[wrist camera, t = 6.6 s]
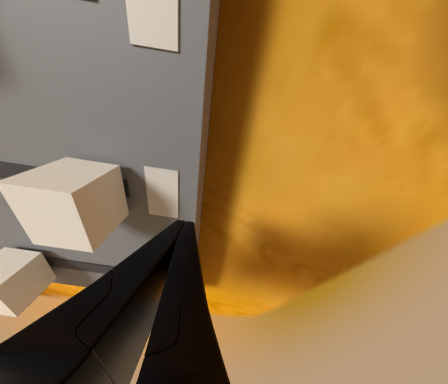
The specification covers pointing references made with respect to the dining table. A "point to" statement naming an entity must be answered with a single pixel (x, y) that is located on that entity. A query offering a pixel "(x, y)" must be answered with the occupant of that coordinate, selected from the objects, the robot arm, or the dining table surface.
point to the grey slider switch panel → (109, 110)
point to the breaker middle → (68, 202)
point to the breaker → (22, 279)
